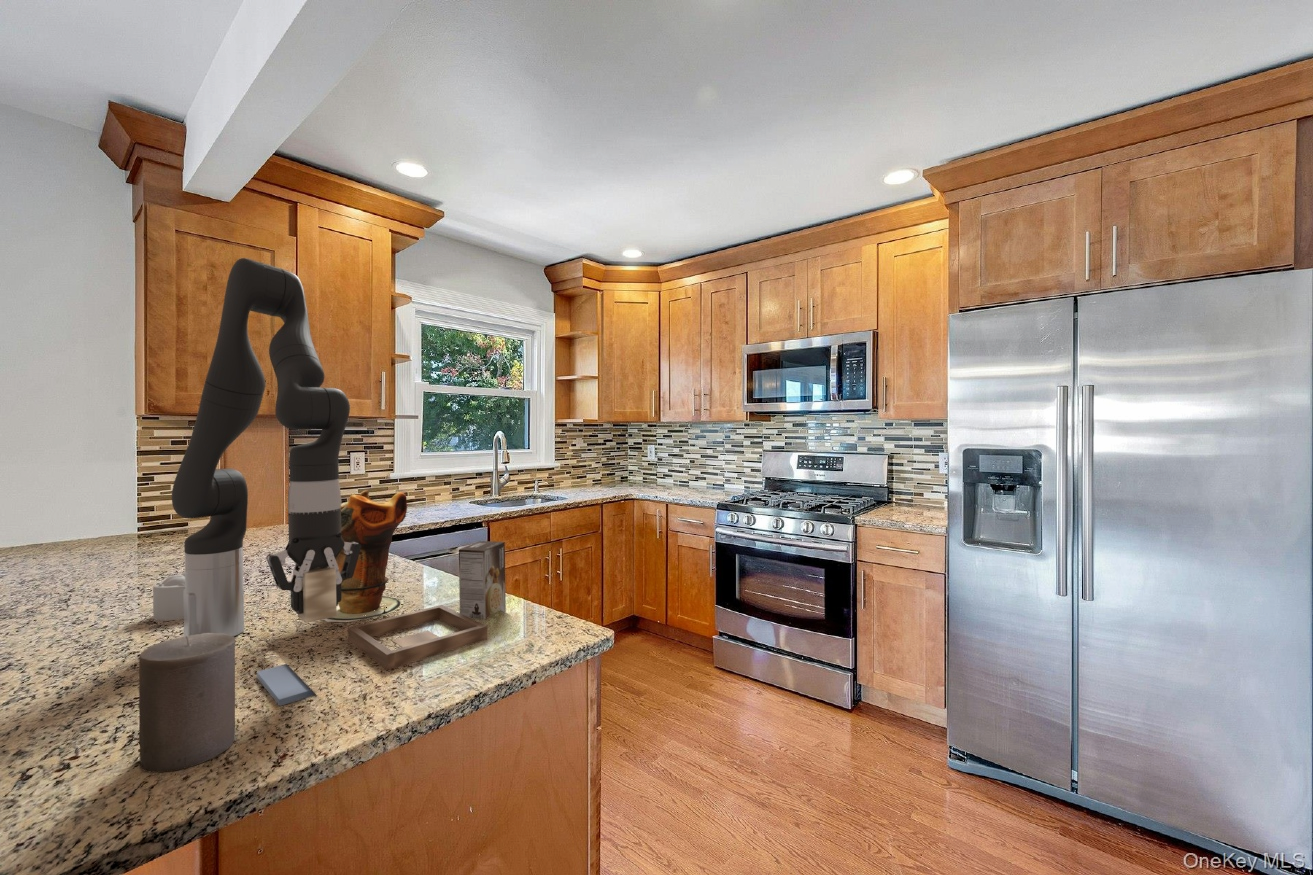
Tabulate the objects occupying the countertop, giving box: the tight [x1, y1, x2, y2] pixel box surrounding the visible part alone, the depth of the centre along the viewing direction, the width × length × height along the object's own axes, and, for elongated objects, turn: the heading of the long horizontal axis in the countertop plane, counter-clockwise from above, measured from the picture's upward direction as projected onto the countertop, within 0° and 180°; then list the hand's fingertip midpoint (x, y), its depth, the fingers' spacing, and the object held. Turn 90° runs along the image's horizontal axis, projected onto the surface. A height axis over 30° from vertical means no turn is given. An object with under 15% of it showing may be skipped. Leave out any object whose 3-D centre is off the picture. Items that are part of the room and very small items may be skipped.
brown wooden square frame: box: [347, 604, 488, 671], centre depth 107 cm, size 18×18×4 cm
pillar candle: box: [138, 633, 236, 773], centre depth 73 cm, size 10×10×15 cm
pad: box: [256, 663, 317, 707], centre depth 95 cm, size 14×14×1 cm
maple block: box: [297, 567, 337, 624], centre depth 94 cm, size 4×4×8 cm
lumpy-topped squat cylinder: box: [152, 571, 185, 621], centre depth 128 cm, size 10×13×9 cm
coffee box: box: [458, 540, 507, 620], centre depth 123 cm, size 9×6×16 cm
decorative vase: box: [322, 489, 408, 623], centre depth 130 cm, size 21×23×28 cm
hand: (316, 608), depth 95 cm, fingers closed on maple block, 4 cm apart
